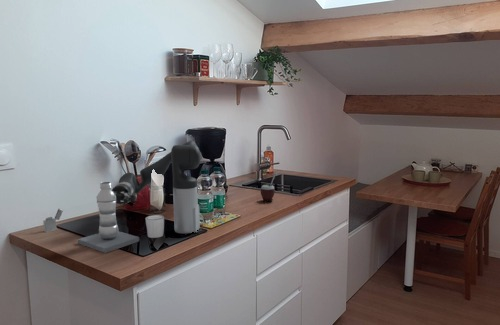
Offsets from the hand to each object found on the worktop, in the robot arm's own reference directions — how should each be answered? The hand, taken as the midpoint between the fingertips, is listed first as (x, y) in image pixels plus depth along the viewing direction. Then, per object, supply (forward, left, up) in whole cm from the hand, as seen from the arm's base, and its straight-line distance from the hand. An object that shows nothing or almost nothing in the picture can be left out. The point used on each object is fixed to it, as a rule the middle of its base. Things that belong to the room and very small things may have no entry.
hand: (112, 202), depth 150 cm
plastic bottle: (-1, +7, -11) cm, 14 cm away
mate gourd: (-54, -58, -13) cm, 81 cm away
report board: (-1, +8, -13) cm, 15 cm away
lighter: (+27, -4, -13) cm, 30 cm away
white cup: (-15, -1, -13) cm, 20 cm away
